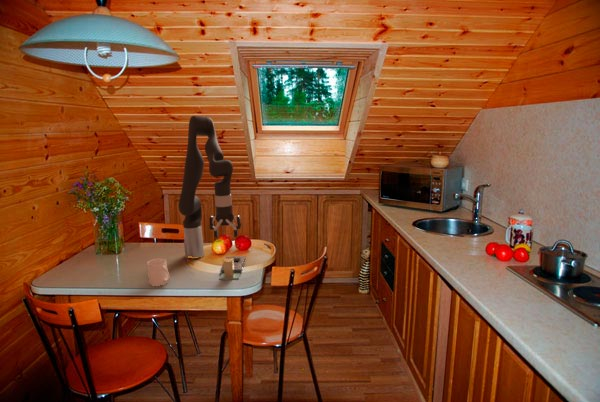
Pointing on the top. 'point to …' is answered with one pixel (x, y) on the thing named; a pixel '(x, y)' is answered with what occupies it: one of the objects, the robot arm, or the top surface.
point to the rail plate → (236, 264)
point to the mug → (157, 271)
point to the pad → (222, 277)
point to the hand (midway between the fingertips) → (226, 237)
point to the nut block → (229, 267)
